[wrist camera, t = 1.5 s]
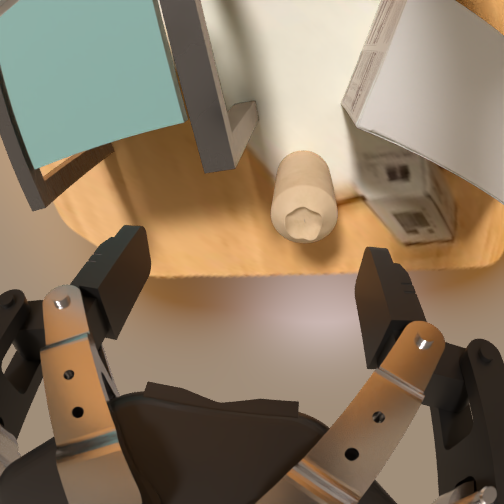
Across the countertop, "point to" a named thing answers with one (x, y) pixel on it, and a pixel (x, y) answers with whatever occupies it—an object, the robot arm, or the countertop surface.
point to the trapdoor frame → (196, 98)
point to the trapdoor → (86, 73)
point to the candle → (303, 198)
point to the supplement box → (434, 88)
